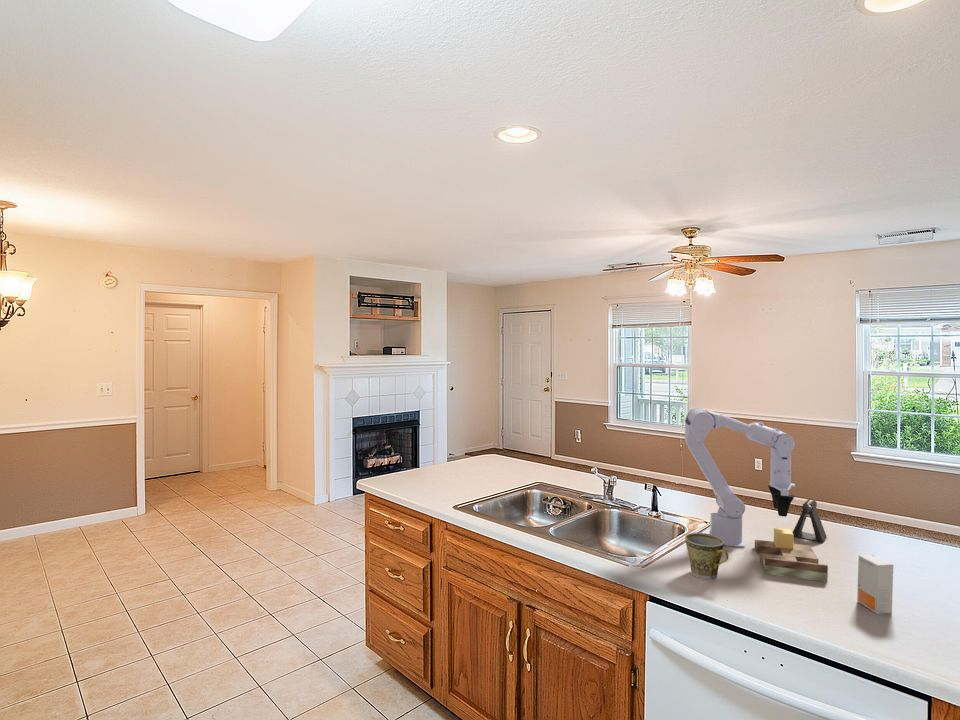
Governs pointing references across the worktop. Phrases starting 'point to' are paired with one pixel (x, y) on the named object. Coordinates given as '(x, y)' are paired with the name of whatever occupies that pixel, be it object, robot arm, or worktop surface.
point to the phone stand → (816, 523)
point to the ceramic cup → (705, 554)
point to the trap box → (791, 561)
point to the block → (783, 538)
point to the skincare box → (875, 583)
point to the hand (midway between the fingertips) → (780, 512)
